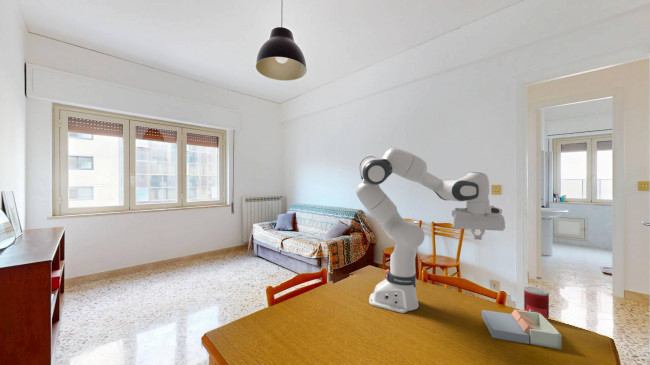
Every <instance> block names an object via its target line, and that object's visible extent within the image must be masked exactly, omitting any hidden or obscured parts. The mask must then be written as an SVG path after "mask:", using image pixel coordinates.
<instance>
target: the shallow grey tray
mask: <svg viewBox="0 0 650 365" xmlns="http://www.w3.org/2000/svg"><path fill="white" fill-rule="evenodd" d="M481 318H482V320H483V322H484V325H485V326H486V327H487V329H488V332H489V334H490V335H491V337H492V338H493V339H497V340H498V339H499V340H504V341H508V342H509V341H510V342H515V343H522V344H527V345H529V344H530V343H529V334H528V333H526V332H525V331H524V330H523V329H522V328H521V326H520V325H519V324H518V322H517V321H516V319H515V318H514V317H513V315H512V313H506V312H500V311H499V312H498V311H493V310H485V309H482V310H481Z"/></svg>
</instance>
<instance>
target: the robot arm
mask: <svg viewBox="0 0 650 365" xmlns="http://www.w3.org/2000/svg"><path fill="white" fill-rule="evenodd" d="M427 165H428V164H427V162H426V161H425V160H424V159H423V158H421V157H420V156H417V155H415V154H413V153H411V152H408V151H407V150H404V149H400V148H397V147H391V148H388V149H387V150H386V151H385V153H384V154H383V156H382V157H376V156H373V155H371V156H367V157H365V158H363V159H362V161H361V162H360V164H359V172H360V173H359V174H360V179H361V181H360V183H359V184H358V185H357V187H356V188H355V193H356V197H357V198H358V200H360V202H361V204H362V205H363V206H364V207H365V209H366V210H367V212H369V214H371V216H372V217H373V218H374V220H376V222H377V223H378V225H379V226H380V227H381V229H382V230H383V232H384V233H385V235H386V237H388V238H389V239H390V240H392V241H394V243H395V244H394V249H393V251H392V253H391V254H390V258H389V259H390V261H389V262H390V266H389V267H390V268H389V269H386V270H385V278H384V279H383V280H382V281H380V282H378V283H377V284H376V285H375V287H374V290H373V292H372V293H370V295H369V298H368V303H369V304H370V305H371V306H373V307H377V308H381V309H385V310H389V311H393V312H396V313H397V312H398V313H400V314H401V313H402V314H405V313H407V312H410V311H413V310H417V309H418V308H419V306H420V304H419V302H418V301H419V300H418V297H417V291H416V290H417V289H416V287H417V275H416V257H417V253H418V249H419V247H420V246H422V245H423V243H424V241H425V236H426V235H425V232H424V230H423V229H422V228H421V226H420V225H418V224H417V223H416V222H412V221H409V220H407V219H404V217H402V216H401V214H400V213H399V211H398V207H397V205H396V204H395V203H394V201H392V200H391V198H390V197H389V196H388V195H387V194H386V193H385V191H384V190H383V189H382V188H381V186H380V184H383V183H384V182H385V181H386V180H387V179H388V178H389V177H390V176H391V175H392V174H395V175H397V176H398V177H401V178H403V179H406V180H409V181H411V182H414V183H418V184H420V185H422V186H424V187H425V188H427V189H430V190H432V191H433V192H434V193H435V195H437V197H438V198H439V199H441V200H443V201H451V202H452V201H455V202H465V201H466V202H465V203H466V207H455V208H454V209H452V210H451V217H452V224H451V225H452V227H453V228H454V229H462V230H470V232H471V234H472V235H473V240H477V241H479V240H480V241H482V240H483V236H484V234H485V233H486V231H499V232H500V231H501V232H504V230H505V229H506V222H505V217H504V215H503V214H502V213H503V209H501V208H499V207H497V206H495V205H490V199H489V194H490V180H489V178H488V177H489V176H488V175H487V174H485V173H483V172H476V171H474V172H473V171H469V172H468V173H467V174H466V175H465V176H462V177H460V178H458V179H441V178H439V177H437V176H435V175H433V174H432V173H430V172H428V171H427V170H428V166H427ZM476 230H478V231H480V233H479V234H476V233H475V232H476Z"/></svg>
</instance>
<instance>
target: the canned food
mask: <svg viewBox="0 0 650 365" xmlns="http://www.w3.org/2000/svg"><path fill="white" fill-rule="evenodd" d="M523 291H524V292H523V302H524V304H523V309H524V310H523V311H528V312H536V313H540V314H541V315H542V316H543V317H544V318H547V319H548V320H549V317H550V314H549V310H550V304H549V303H550V296H549V295H550V294H549V291H547V290H545V289H543V288H540V287H536V286H525V287H524V289H523Z"/></svg>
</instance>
